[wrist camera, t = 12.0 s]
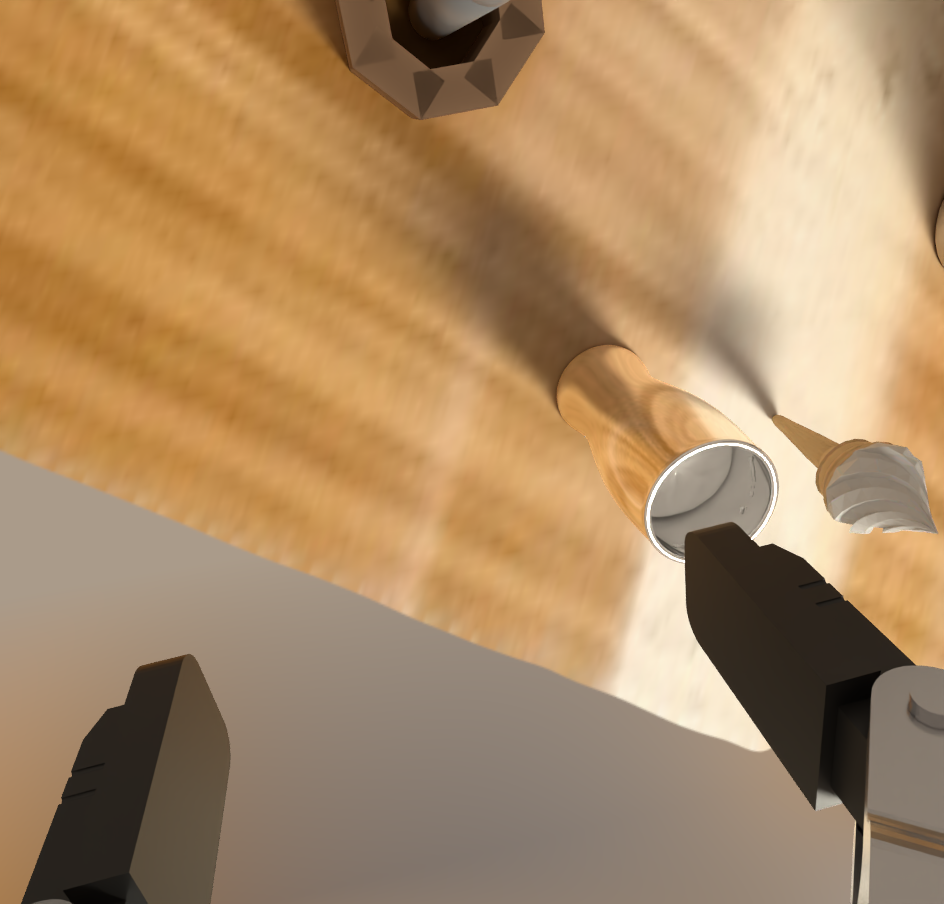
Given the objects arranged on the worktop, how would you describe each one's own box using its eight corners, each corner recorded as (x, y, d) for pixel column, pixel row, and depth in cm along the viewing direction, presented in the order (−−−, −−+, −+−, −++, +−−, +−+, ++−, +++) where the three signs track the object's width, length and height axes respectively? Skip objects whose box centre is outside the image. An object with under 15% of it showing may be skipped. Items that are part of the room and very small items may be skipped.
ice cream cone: (826, 389, 49) (1010, 495, 36) (789, 462, 52) (951, 586, 38) (758, 372, 48) (924, 475, 35) (723, 447, 50) (867, 571, 37)
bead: (506, -114, 34) (527, -140, 31) (529, 96, 38) (551, 95, 35) (317, -84, 33) (316, -107, 30) (362, 127, 37) (366, 130, 34)
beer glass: (558, 334, 44) (658, 433, 31) (663, 340, 46) (802, 437, 32) (541, 438, 47) (626, 570, 34) (641, 440, 49) (760, 568, 35)
